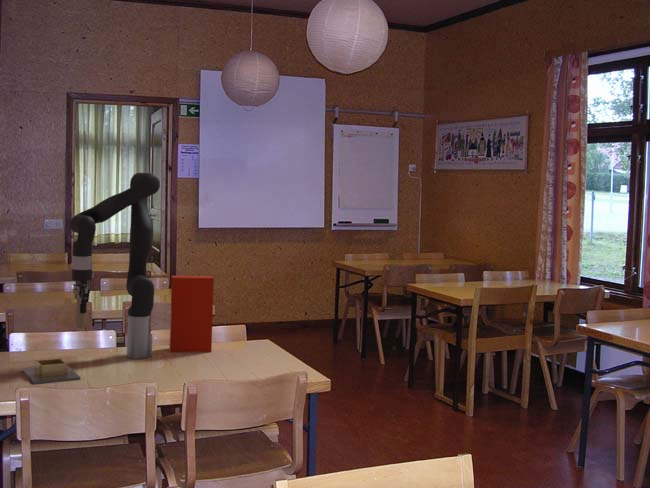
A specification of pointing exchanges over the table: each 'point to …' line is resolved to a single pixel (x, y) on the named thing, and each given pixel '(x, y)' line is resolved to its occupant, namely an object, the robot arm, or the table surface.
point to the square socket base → (50, 371)
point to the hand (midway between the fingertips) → (81, 311)
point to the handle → (80, 316)
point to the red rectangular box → (191, 313)
